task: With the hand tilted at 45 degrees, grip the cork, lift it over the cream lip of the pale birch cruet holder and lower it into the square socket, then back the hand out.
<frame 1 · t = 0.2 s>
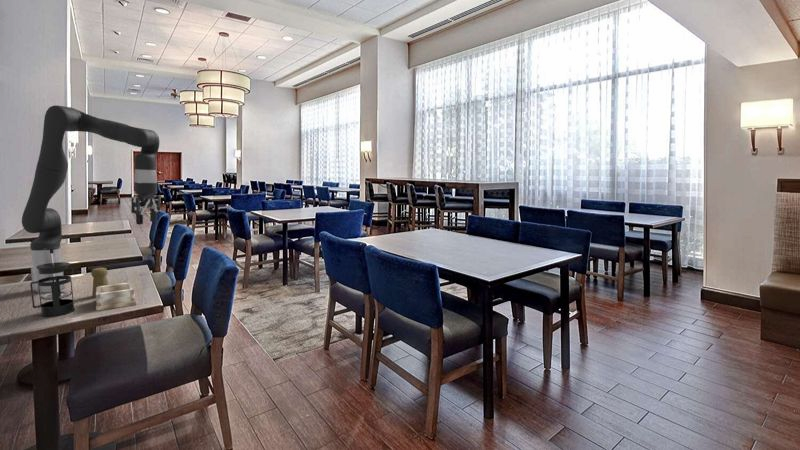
hand: (146, 223, 165), 29 cm above the table, tool pointing down, fingers open, 8 cm apart
french press: (56, 313, 147), on the table
cruet holder: (116, 302, 158), on the table
cork: (101, 295, 166), on the table
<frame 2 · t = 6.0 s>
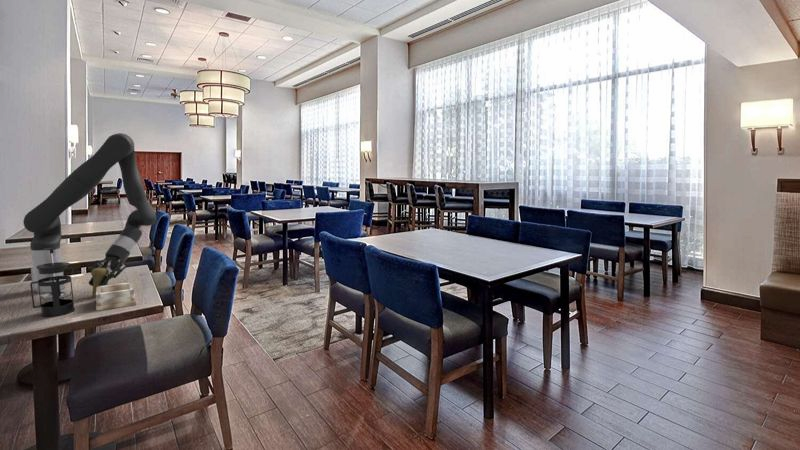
hand: (95, 285, 164), 5 cm above the table, tool tilted 45°, fingers closed on cork, 4 cm apart
cork: (101, 295, 166), on the table, touching gripper
everything else where it was.
when the fingers open (7 cm above the table, at t = 11.9 s): cork drops 1 cm, resting on cruet holder.
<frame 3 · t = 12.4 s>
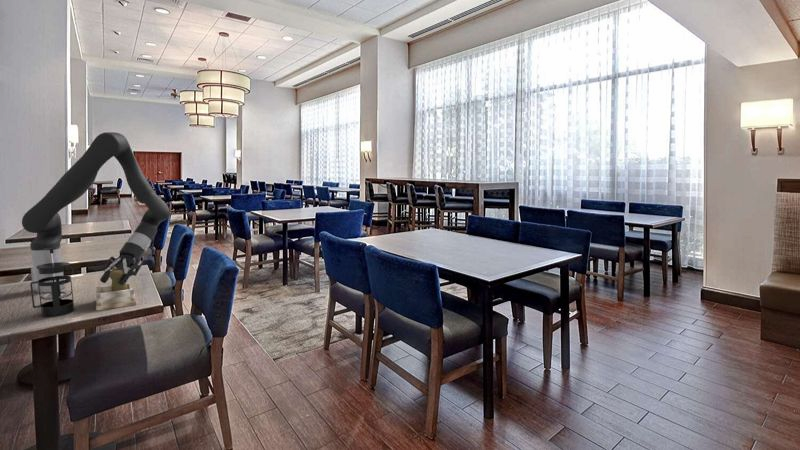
hand: (111, 283, 156), 8 cm above the table, tool tilted 45°, fingers open, 8 cm apart
cork: (120, 299, 158), point 1 cm above the table, touching cruet holder, gripper
everything else where it was.
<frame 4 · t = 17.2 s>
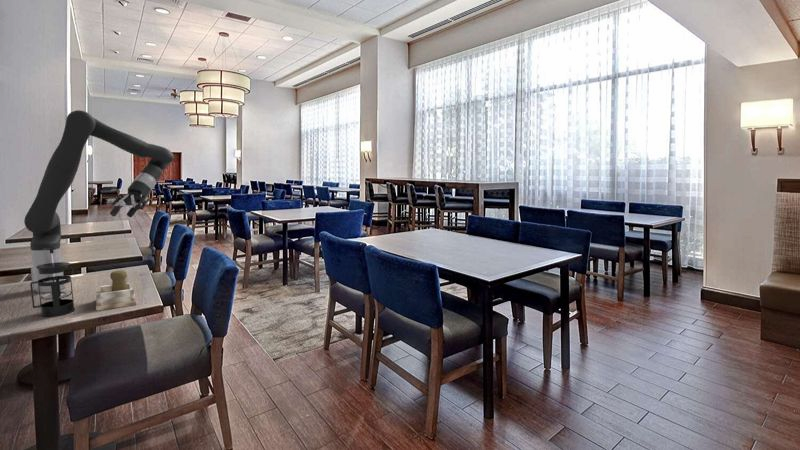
hand: (120, 215, 170), 31 cm above the table, tool tilted 45°, fingers open, 8 cm apart
cork: (120, 299, 158), point 1 cm above the table, touching cruet holder
everything else where it was.
at the end: cork 1.9 cm off-centre on the cruet holder, point 1.0 cm above the cruet holder's base; cork tilted 0°; the gripper is holding nothing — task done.
